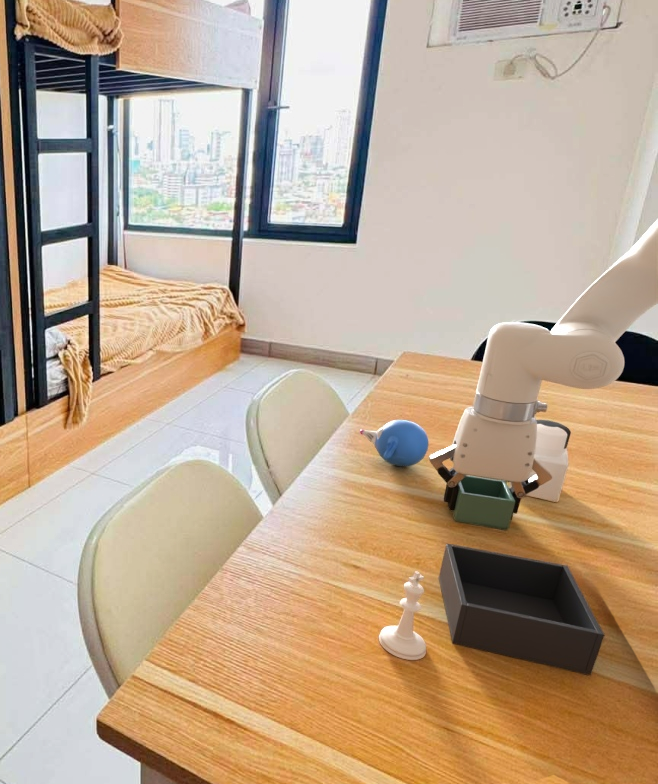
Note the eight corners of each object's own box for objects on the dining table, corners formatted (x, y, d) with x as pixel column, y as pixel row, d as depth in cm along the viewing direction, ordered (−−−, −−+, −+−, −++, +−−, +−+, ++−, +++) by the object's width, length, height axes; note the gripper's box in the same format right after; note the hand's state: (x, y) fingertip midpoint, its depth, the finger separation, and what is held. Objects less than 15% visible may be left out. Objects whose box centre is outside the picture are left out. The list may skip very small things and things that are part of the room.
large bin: (556, 601, 79) (567, 565, 78) (590, 675, 68) (605, 635, 66) (438, 577, 84) (446, 543, 82) (452, 643, 73) (461, 604, 71)
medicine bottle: (507, 475, 111) (523, 412, 107) (557, 486, 108) (575, 421, 103) (505, 491, 106) (522, 426, 102) (557, 503, 102) (577, 436, 98)
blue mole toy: (368, 442, 125) (375, 402, 122) (433, 460, 117) (442, 418, 114) (343, 461, 117) (349, 419, 115) (410, 482, 109) (418, 438, 107)
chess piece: (436, 654, 71) (453, 581, 68) (400, 664, 70) (416, 590, 66) (403, 626, 76) (417, 556, 72) (369, 634, 74) (382, 563, 71)
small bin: (498, 508, 101) (505, 480, 99) (507, 530, 95) (515, 501, 93) (448, 500, 103) (454, 473, 102) (455, 521, 97) (461, 493, 96)
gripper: (566, 405, 93) (537, 510, 99) (434, 391, 99) (414, 490, 105) (582, 423, 86) (550, 534, 93) (439, 407, 93) (418, 512, 99)
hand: (478, 510), depth 99 cm, fingers closed on small bin, 7 cm apart
